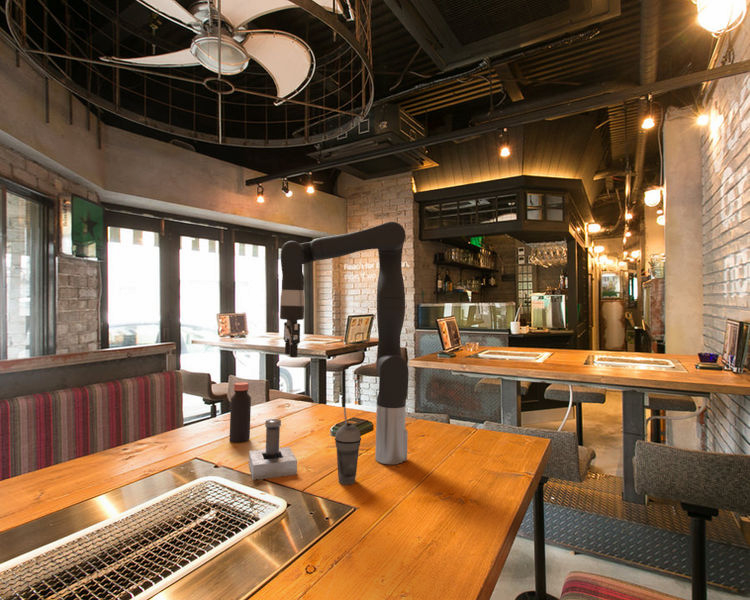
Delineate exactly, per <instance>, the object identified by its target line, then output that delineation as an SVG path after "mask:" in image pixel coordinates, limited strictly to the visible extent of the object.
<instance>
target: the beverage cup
mask: <svg viewBox="0 0 750 600" xmlns="http://www.w3.org/2000/svg"><path fill="white" fill-rule="evenodd" d="M346 410H347V409H346V407H343V412H344V413H343V414H344V424H342V425H341V426H339V427H338V429H337V431H336V433H335V438H334V441H335V447H336V459H337V460H336V461H337V463H336V465H337V476H338V483H339V484H340V485H345V486H350V485H353V484H355V482H356V477H357V470H358V469H357V468H358V460H359V452H360V451H359V450H360V447H361V446H360V445H361V441H362V437H361V432H360V430H359V428H358V427H357V426H356V425H354V424H353V423H352V424H351V423H348V422H347V421H348V420H347V411H346Z"/></svg>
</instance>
